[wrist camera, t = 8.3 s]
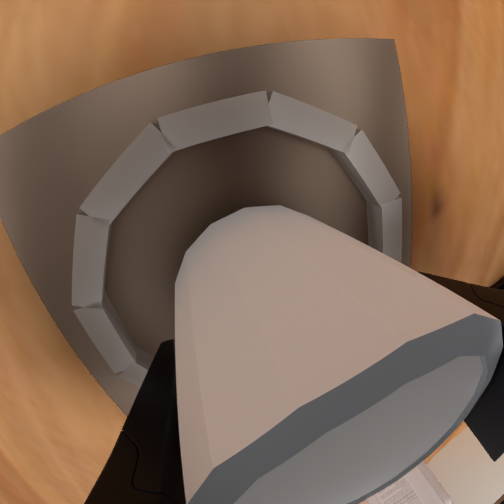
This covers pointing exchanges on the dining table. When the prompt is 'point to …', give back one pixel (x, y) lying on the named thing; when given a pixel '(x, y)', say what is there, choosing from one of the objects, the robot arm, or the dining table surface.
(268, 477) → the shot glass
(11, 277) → the dining table surface
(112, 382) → the ring holder
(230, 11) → the dining table surface
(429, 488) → the white rounded block
